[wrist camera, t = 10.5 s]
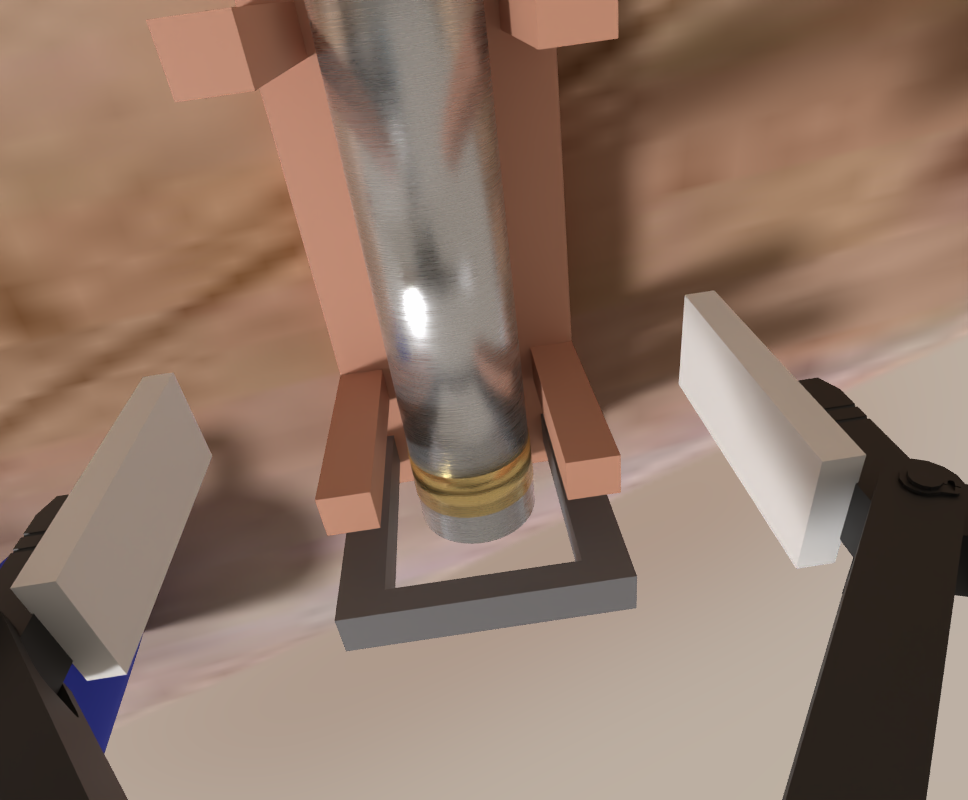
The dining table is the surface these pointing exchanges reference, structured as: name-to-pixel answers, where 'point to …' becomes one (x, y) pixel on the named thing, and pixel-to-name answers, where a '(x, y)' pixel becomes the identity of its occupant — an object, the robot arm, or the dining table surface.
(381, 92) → the tube
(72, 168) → the dining table surface
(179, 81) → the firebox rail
